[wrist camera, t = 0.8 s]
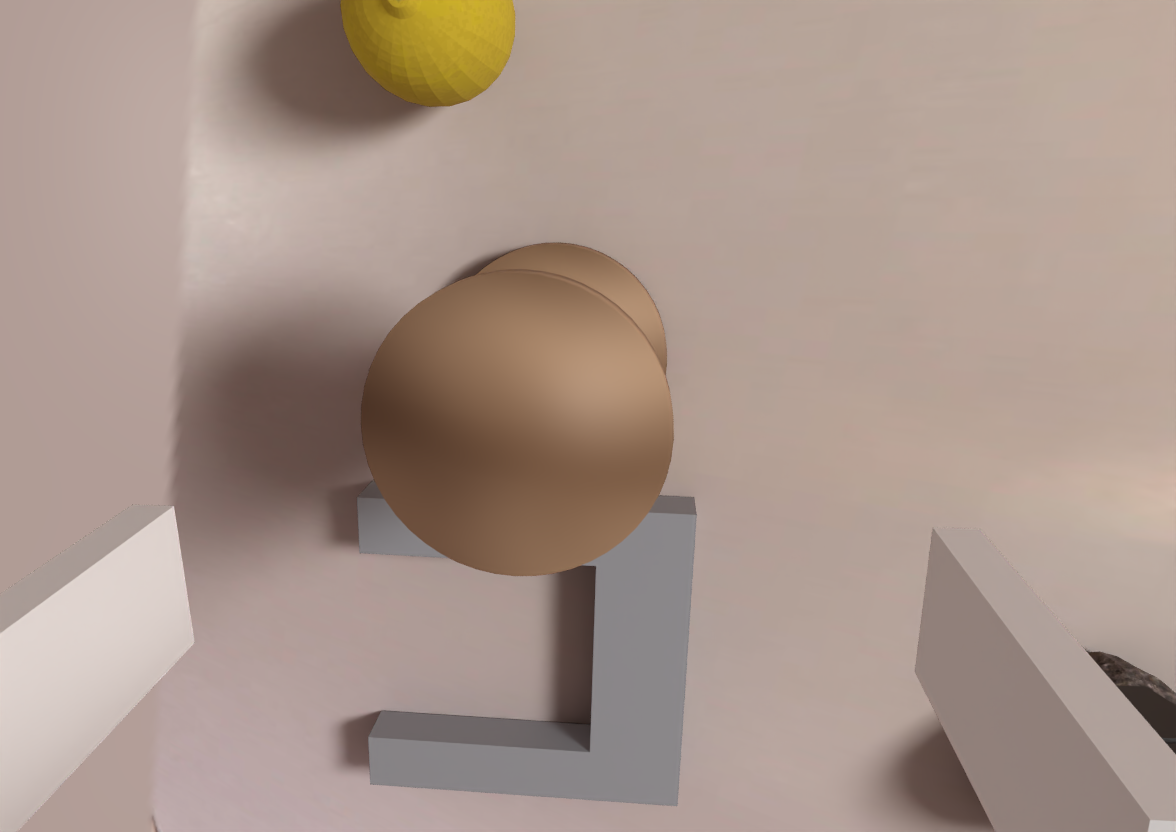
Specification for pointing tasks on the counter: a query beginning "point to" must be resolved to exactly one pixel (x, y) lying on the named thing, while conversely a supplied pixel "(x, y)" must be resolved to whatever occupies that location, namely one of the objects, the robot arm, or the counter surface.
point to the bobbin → (523, 412)
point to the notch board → (619, 683)
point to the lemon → (431, 45)
